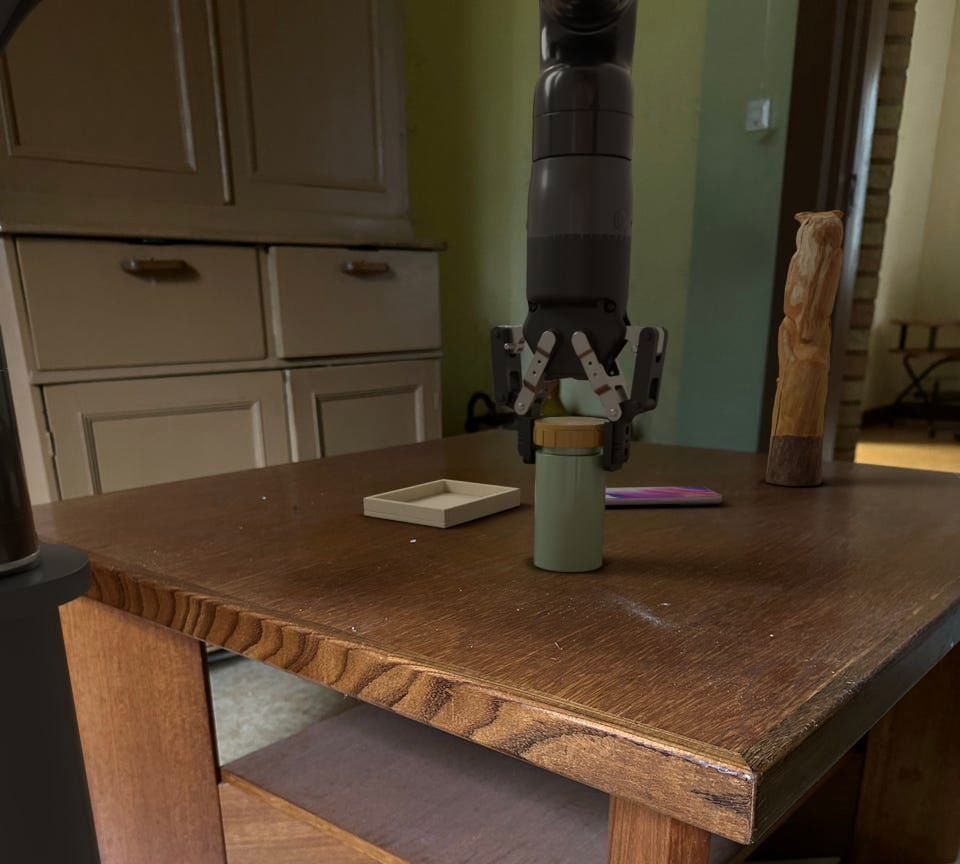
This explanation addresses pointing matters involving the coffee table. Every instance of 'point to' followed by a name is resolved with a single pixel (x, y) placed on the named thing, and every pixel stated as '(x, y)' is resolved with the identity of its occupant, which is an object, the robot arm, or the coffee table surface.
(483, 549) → the coffee table surface
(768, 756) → the coffee table surface
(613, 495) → the smartphone
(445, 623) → the coffee table surface
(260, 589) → the coffee table surface
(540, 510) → the jar
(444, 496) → the tray
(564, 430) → the jar lid
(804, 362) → the sculpture
